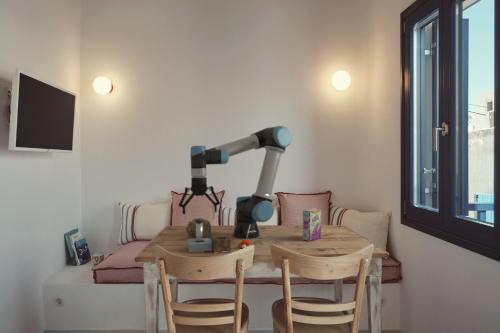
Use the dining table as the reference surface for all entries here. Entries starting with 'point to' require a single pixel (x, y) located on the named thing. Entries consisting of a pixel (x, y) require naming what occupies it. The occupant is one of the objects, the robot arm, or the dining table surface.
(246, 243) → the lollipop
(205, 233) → the rock
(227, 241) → the mount
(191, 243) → the dock
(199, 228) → the lock pin
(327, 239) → the dining table surface
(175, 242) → the dining table surface
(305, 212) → the candy bar box
